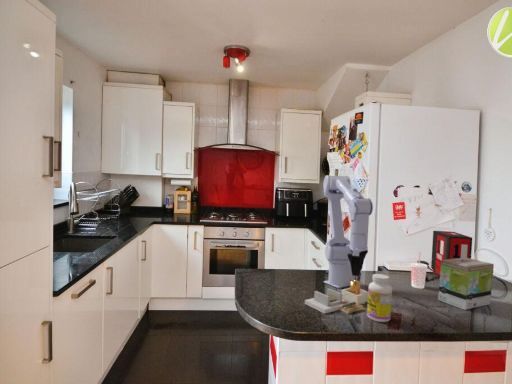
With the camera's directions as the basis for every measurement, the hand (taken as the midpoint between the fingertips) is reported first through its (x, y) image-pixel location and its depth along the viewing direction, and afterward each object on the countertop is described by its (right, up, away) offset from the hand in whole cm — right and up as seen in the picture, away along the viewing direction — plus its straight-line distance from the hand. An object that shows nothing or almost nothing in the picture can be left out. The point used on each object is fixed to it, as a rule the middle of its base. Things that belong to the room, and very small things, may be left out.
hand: (356, 272), depth 110 cm
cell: (-1, -9, 0) cm, 9 cm away
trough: (-4, -10, -8) cm, 13 cm away
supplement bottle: (+2, -10, -14) cm, 17 cm away
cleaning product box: (+51, -11, +33) cm, 62 cm away
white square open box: (0, -10, 0) cm, 10 cm away
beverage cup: (+30, -11, +19) cm, 37 cm away
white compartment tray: (-11, -9, -5) cm, 15 cm away
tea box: (+39, -11, +3) cm, 40 cm away
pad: (-11, -8, -5) cm, 15 cm away
